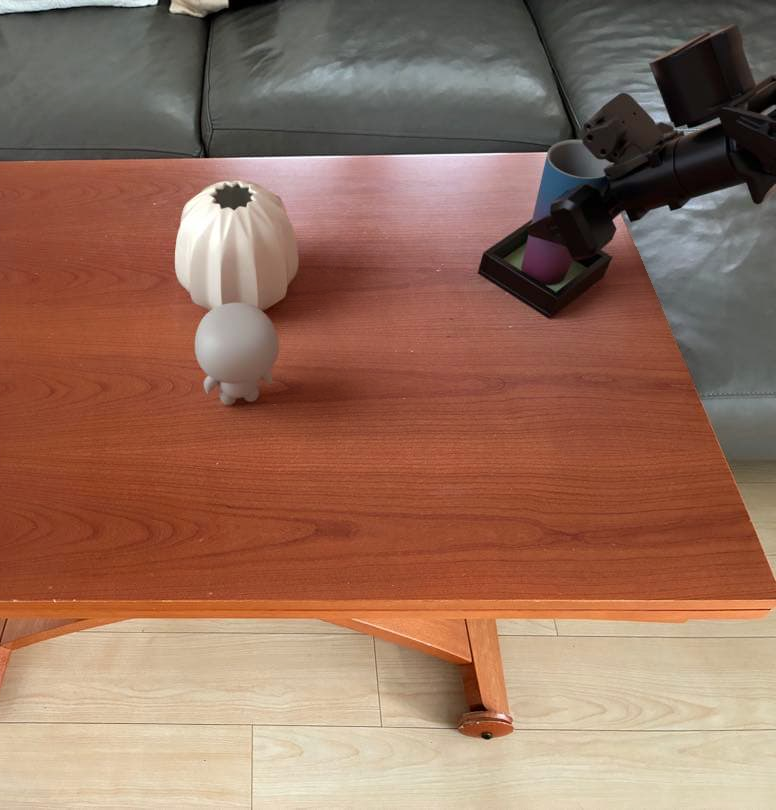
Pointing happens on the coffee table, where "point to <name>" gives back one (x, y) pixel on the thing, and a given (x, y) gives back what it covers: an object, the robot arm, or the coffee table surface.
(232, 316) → the figurine
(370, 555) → the coffee table surface
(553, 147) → the cup
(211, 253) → the vase
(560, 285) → the tray
